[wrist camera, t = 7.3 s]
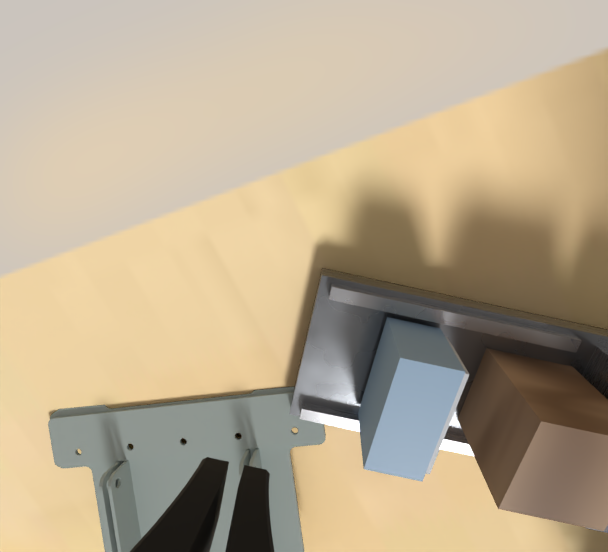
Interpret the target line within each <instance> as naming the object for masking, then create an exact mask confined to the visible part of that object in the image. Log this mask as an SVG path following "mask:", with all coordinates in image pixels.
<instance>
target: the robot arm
mask: <svg viewBox="0 0 608 552" xmlns="http://www.w3.org/2000/svg"><path fill="white" fill-rule="evenodd" d="M228 465H229V462H228V461H223V460H219V459H214V458H209V457H206V458H204V459H202V461H201V463H200V464H199V466H198V468H197V469H196V471H195V472H194V474H193V475H192V477H191V478H190V480H189V481H188V482H187V484H186V485H185V486H184V488H183V489H182V490H181V492H180V493H179V494H178V496H177V497H176V498H175V500H174V501H173V502H172V503H171V505H170V506H169V507H168V508H167V509H166V511H165V512H164V513H163V514H162V516H161V517H160V518H159V519H158V520H157V522H156V523H155V524H154V525H153V526H152V527H151V529H150V530H149V531H148V532H147V533H146V534H145V535H144V536H143V537H142V539H141V540H140V541H139V542H138V543H137V544H136V545H135V546H134V547H133V548H132V550H131V551H130V552H210V548H211V545H212V541H213V538H214V534H215V530H216V527H217V523H218V519H219V515H220V509H221V504H222V498H223V493H224V487H225V482H226V476H227V471H228ZM269 477H270V473H269V472H268V471H267V470H266V469H261V468H256V467H252V466H247V465H244V468H243V472H242V475H241V479H240V482H239V486H238V490H237V495H236V500H235V505H234V510H233V515H232V520H231V525H230V530H229V535H228V540H227V545H226V550H225V552H274V545H273V538H272V531H271V521H270V508H269Z"/></svg>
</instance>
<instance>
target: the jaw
mask: <svg viewBox="0 0 608 552" xmlns="http://www.w3.org/2000/svg"><path fill="white" fill-rule="evenodd" d="M468 377H469V373H468V371H467V369H466V368H465V366H464V364H463V362H462V361H461V359H460V357H459V356H458V354H457V352H456V351H455V349H454V347H453V346H452V344H451V342H450V341H449V339H448V337H447V336H444V334H443V332H442V330H441V329H440V328H436V327H432V326H427V325H423V324H418V323H413V322H409V321H404V320H399V319H395V318H390V317H387V319H386V322H385V326H384V329H383V332H382V335H381V339H380V342H379V345H378V349H377V352H376V355H375V359H374V362H373V365H372V368H371V372H370V375H369V378H368V382H367V385H366V388H365V392H364V395H363V398H362V401H361V405H360V408H359V411H358V417H359V427H360V437H361V447H362V456H363V466H364V469H366V470H371V471H375V472H380V473H385V474H389V475H394V476H399V477H404V478H408V479H413V480H418V481H423V478H424V476H425V473H426V474H430V472H431V470H432V467H433V465H434V462H435V460H436V457H437V455H438V452H439V450H440V447H441V445H442V442H443V440H444V437H445V435H446V432H447V430H448V427H449V425H450V422H451V420H452V417H453V415H454V412H455V410H456V407H457V404H458V402H459V399H460V397H461V394H462V392H463V389H464V387H465V384H466V382H467V379H468Z"/></svg>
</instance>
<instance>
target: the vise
mask: <svg viewBox="0 0 608 552" xmlns="http://www.w3.org/2000/svg"><path fill="white" fill-rule="evenodd" d="M387 317H390V318H395V319H399V320H404V321H409V322H413V323H418V324H423V325H427V326H432V327H436V328H440V329H441V330H442V332H443V334H444V336H447V337H448V339H449V341H450V342H451V344H452V346H453V347H454V349H455V351H456V352H457V354H458V356H459V357H460V359H461V361H462V362H463V364H464V366H465V368H466V369H467V371H468V373H469V377H468V379H467V382H466V384H465V387H464V389H463V392H462V394H461V397H460V399H459V402H458V404H457V407H456V410H455V412H454V415H453V417H452V420H451V422H450V425H449V427H448V430H447V432H446V435H445V437H444V440H443V442H442V445H441V447H440V449H443V450H448V451H452V452H457V453H462V454H467V455H471V456H474V454H473V452H472V450H471V448H470V445H469V443H468V441H467V439H466V437H465V434H464V432H463V430H462V428H461V426H460V423H459V421H458V417H459V415H460V412H461V410H462V407H463V405H464V402H465V400H466V397H467V395H468V393H469V390H470V388H471V385H472V383H473V380H474V378H475V375H476V373H477V370H478V368H479V365H480V363H481V360H482V358H483V356H484V353H485V351H486V348H488V349H493V350H498V351H502V352H507V353H512V354H516V355H521V356H526V357H530V358H535V359H540V360H544V361H549V362H553V363H558V364H563V365H567V366H572V367H573V368H574V369H576V370H577V371H578V372H579V373H580V374H581V375H582V376H583V377H584V378H585V379H586V380H587V381H588V382H589V383H590V384H591V385H593V386H594V387H595V388H596V389H597V390H598V391H599V392H600V393H601V394H602V395H603V396H604V397H605V398H606V399H607V400H608V330H606V329H601V328H597V327H592V326H587V325H583V324H578V323H573V322H569V321H564V320H560V319H555V318H550V317H546V316H541V315H536V314H532V313H527V312H523V311H518V310H513V309H509V308H504V307H499V306H495V305H490V304H485V303H481V302H476V301H472V300H467V299H462V298H458V297H453V296H448V295H444V294H439V293H435V292H430V291H425V290H421V289H416V288H411V287H407V286H402V285H397V284H393V283H388V282H384V281H379V280H374V279H370V278H365V277H360V276H356V275H351V274H347V273H342V272H337V271H333V270H328V269H323V268H322V272H321V276H320V280H319V284H318V289H317V293H316V297H315V302H314V306H313V310H312V314H311V319H310V323H309V327H308V332H307V336H306V340H305V344H304V349H303V353H302V357H301V362H300V366H299V370H298V374H297V379H296V383H295V387H294V392H293V397H292V402H291V406H290V413H289V414H290V415H295V416H300V418H299V419H302V420H307V421H311V422H316V423H321V424H326V425H330V426H335V427H340V428H344V429H349V430H354V431H358V432H360V427H359V417H358V411H359V408H360V405H361V401H362V398H363V395H364V392H365V388H366V385H367V382H368V378H369V375H370V372H371V368H372V365H373V362H374V359H375V355H376V352H377V349H378V345H379V342H380V339H381V335H382V332H383V329H384V326H385V322H386V319H387ZM585 528H587V527H585ZM587 529H591V528H587ZM592 530H596V529H592ZM597 531H601V530H597ZM601 532H606V533H608V525H607V527H606V529H605V530H604V531H601Z"/></svg>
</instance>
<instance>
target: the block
mask: <svg viewBox="0 0 608 552" xmlns="http://www.w3.org/2000/svg"><path fill="white" fill-rule="evenodd" d="M458 421H459V423H460V426H461V428H462V430H463V432H464V434H465V437H466V439H467V441H468V443H469V445H470V448H471V450H472V452H473V454H474V456H475V459H476V461H477V463H478V465H479V467H480V470H481V472H482V474H483V476H484V478H485V481H486V483H487V485H488V487H489V489H490V492H491V494H492V496H493V498H494V500H495V503H496V505H497V507H498V509H502V510H506V511H511V512H516V513H520V514H525V515H530V516H535V517H539V518H544V519H549V520H554V521H558V522H563V523H568V524H572V525H577V526H582V527H587V528H591V529H596V530H601V531H604V530H605V529H606V527H607V525H608V400H607V399H606V398H605V397H604V396H603V395H602V394H601V393H600V392H599V391H598V390H597V389H596V388H595V387H594V386H593V385H591V384H590V383H589V382H588V381H587V380H586V379H585V378H584V377H583V376H582V375H581V374H580V373H579V372H578V371H577V370H576V369H574V368H573V367H572V366H567V365H563V364H558V363H553V362H549V361H544V360H540V359H535V358H530V357H526V356H521V355H516V354H512V353H507V352H502V351H498V350H493V349H488V348H486V351H485V353H484V356H483V358H482V360H481V363H480V365H479V368H478V370H477V373H476V375H475V378H474V380H473V383H472V385H471V388H470V390H469V393H468V395H467V397H466V400H465V402H464V405H463V407H462V410H461V412H460V415H459V417H458Z"/></svg>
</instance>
